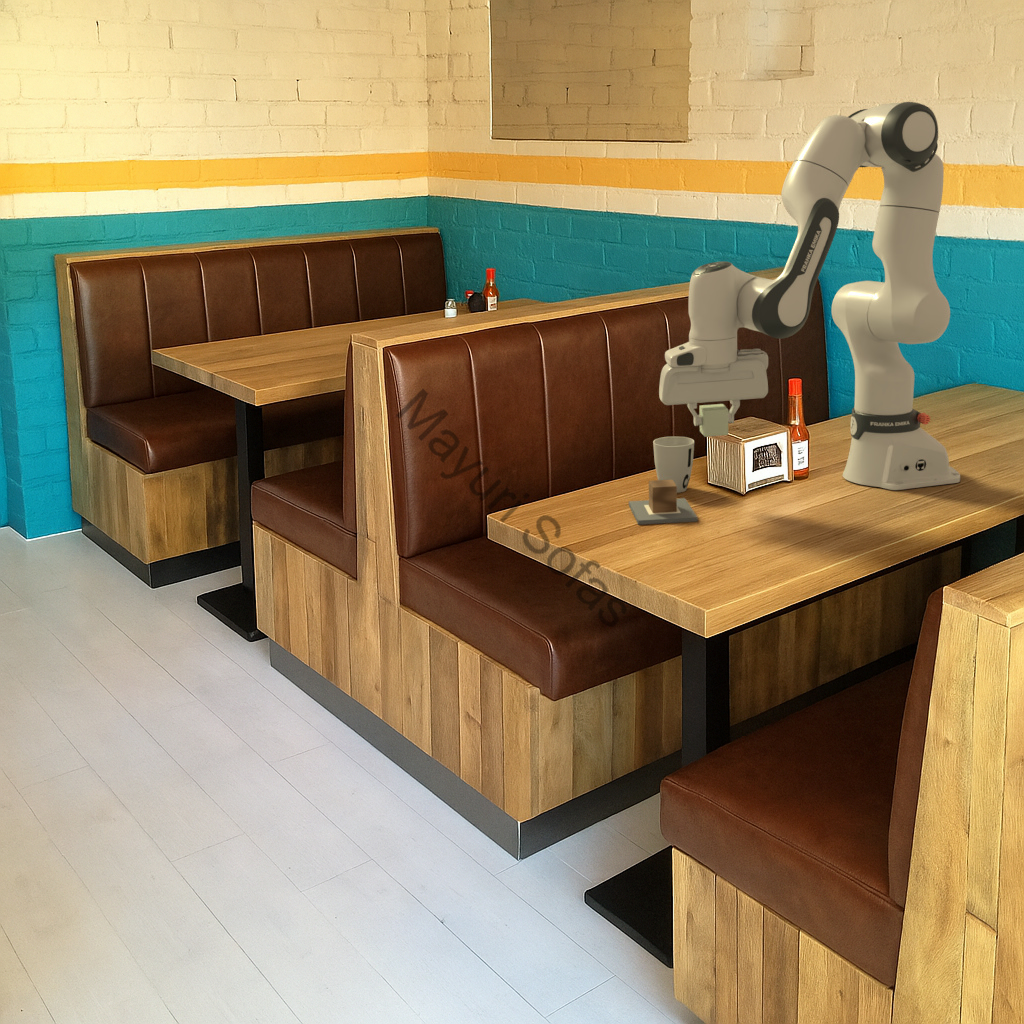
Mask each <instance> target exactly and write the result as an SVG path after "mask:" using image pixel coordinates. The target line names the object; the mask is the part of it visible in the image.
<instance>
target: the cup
mask: <svg viewBox="0 0 1024 1024" xmlns="http://www.w3.org/2000/svg"><path fill="white" fill-rule="evenodd" d="M652 443H653V444H652V445H653V456H654V458H653V459H654V465H655V466H654V467H655V472H656V477H657V480H673V481H674V483H675V484H676V486H677V494H679V493H684V492H685V491H687V489H688V486H689V483H690V481H691V474H692V470H693V463H694V453H695V452H694V451H695V440H694V439H693V438H690V437H687V436H664V437H659V438H655V439H654V440H653V441H652Z"/></svg>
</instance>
